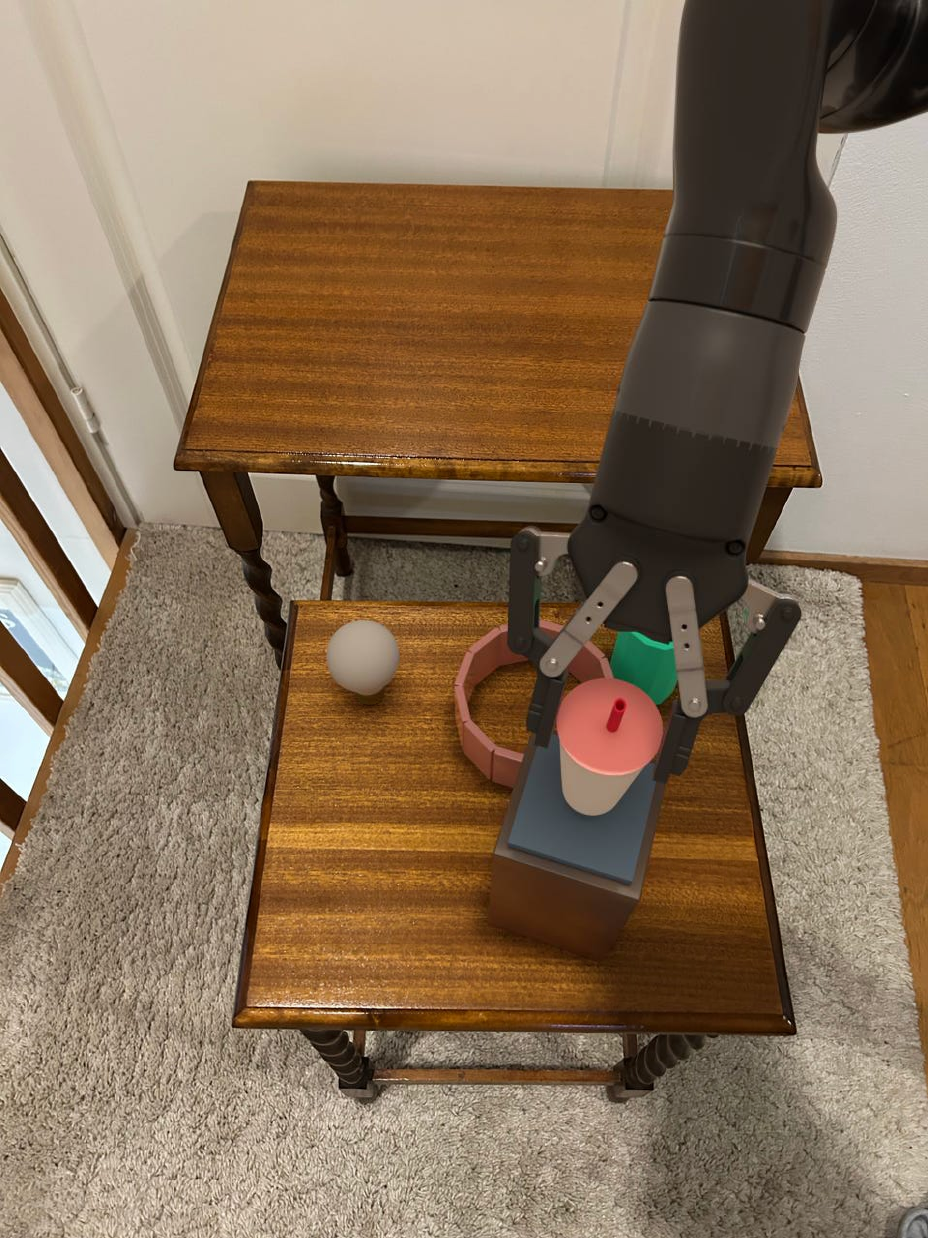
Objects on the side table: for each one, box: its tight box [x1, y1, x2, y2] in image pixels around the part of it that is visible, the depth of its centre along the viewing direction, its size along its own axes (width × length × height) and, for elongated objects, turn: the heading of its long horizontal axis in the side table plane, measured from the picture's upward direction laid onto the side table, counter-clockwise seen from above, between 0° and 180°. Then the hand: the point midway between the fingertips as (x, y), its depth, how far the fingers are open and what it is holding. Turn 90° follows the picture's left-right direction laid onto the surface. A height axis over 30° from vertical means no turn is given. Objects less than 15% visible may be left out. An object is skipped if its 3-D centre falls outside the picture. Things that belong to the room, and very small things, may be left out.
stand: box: [487, 729, 667, 963], centre depth 65 cm, size 9×9×18 cm
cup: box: [556, 678, 664, 816], centre depth 50 cm, size 5×5×12 cm
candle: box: [609, 631, 678, 706], centre depth 77 cm, size 6×6×12 cm
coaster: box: [507, 734, 656, 885], centre depth 57 cm, size 8×8×1 cm
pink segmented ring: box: [453, 618, 614, 789], centre depth 78 cm, size 13×13×6 cm
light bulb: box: [326, 619, 401, 705], centre depth 77 cm, size 6×6×10 cm
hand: (601, 758), depth 47 cm, fingers closed on cup, 5 cm apart
